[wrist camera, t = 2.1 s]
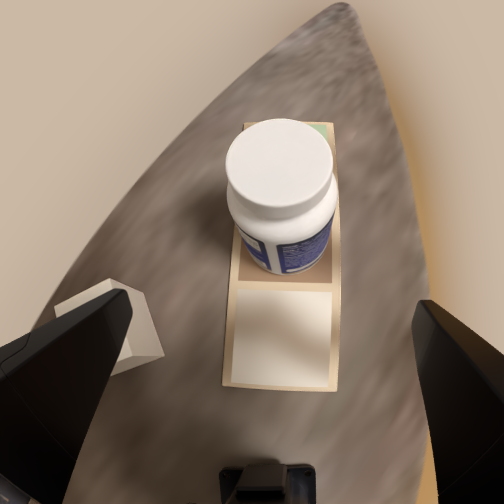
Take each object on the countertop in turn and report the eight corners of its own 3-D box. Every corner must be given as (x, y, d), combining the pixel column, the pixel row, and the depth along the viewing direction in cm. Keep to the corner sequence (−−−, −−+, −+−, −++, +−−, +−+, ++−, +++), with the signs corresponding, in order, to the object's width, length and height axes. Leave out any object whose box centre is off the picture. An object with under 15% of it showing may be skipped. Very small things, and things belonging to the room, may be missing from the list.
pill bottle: (330, 205, 23) (347, 115, 13) (322, 282, 21) (342, 228, 12) (253, 196, 24) (227, 106, 14) (239, 270, 22) (198, 211, 13)
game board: (336, 391, 19) (336, 391, 19) (222, 385, 20) (221, 385, 20) (332, 124, 25) (332, 122, 25) (244, 124, 26) (244, 122, 26)
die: (165, 355, 22) (132, 355, 17) (111, 375, 22) (71, 378, 17) (143, 293, 23) (109, 277, 18) (93, 316, 23) (53, 306, 18)
